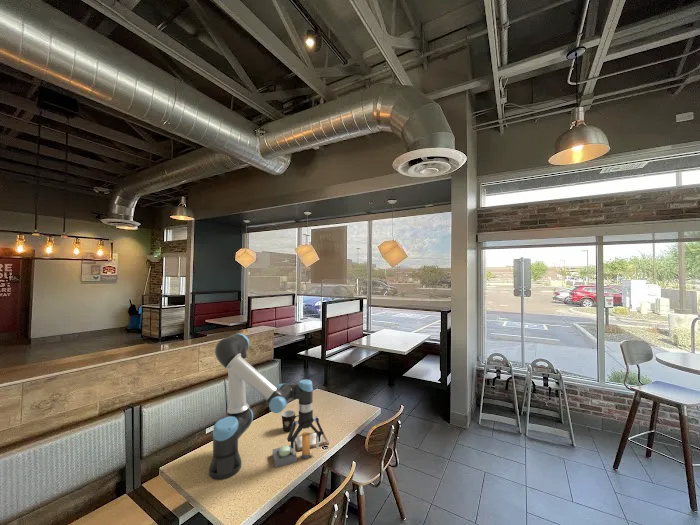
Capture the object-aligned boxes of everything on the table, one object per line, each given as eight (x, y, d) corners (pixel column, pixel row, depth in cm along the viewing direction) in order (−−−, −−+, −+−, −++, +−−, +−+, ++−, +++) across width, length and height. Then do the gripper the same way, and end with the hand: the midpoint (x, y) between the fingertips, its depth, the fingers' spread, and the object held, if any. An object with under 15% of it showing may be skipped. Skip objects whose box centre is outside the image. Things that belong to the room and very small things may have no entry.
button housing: (275, 467, 147) (275, 461, 147) (272, 455, 157) (272, 449, 157) (296, 462, 151) (296, 456, 151) (292, 450, 161) (292, 444, 161)
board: (298, 451, 159) (298, 448, 160) (293, 438, 172) (293, 435, 173) (329, 444, 166) (329, 441, 166) (322, 432, 179) (322, 429, 179)
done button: (279, 459, 150) (279, 453, 150) (277, 452, 155) (277, 447, 156) (291, 456, 152) (291, 450, 152) (289, 450, 158) (289, 444, 158)
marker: (302, 460, 152) (302, 436, 153) (301, 455, 156) (301, 432, 157) (310, 458, 154) (310, 435, 154) (308, 453, 158) (308, 431, 158)
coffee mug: (278, 431, 181) (278, 414, 181) (287, 424, 188) (287, 409, 189) (293, 435, 175) (293, 419, 176) (301, 429, 183) (301, 413, 183)
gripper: (284, 417, 148) (283, 460, 147) (329, 408, 157) (329, 449, 156) (281, 411, 155) (281, 452, 154) (325, 403, 164) (325, 441, 163)
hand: (305, 450), depth 155 cm, fingers open, 12 cm apart
